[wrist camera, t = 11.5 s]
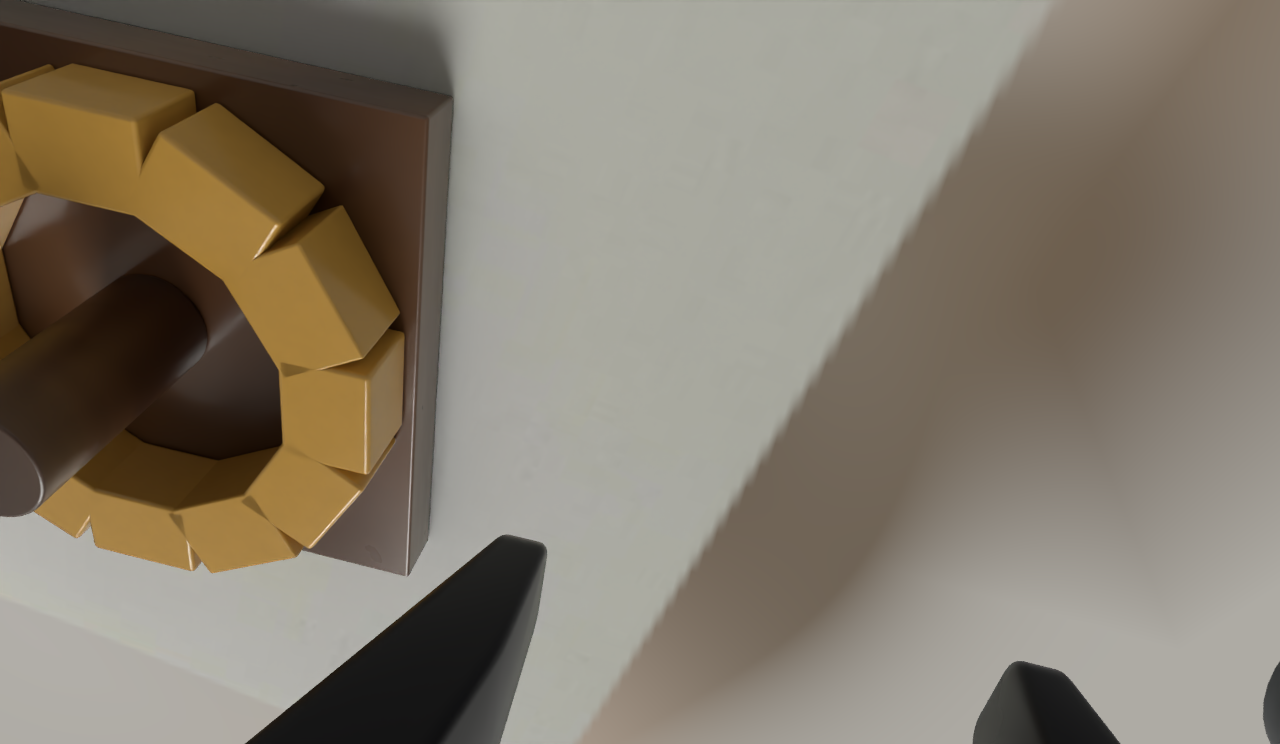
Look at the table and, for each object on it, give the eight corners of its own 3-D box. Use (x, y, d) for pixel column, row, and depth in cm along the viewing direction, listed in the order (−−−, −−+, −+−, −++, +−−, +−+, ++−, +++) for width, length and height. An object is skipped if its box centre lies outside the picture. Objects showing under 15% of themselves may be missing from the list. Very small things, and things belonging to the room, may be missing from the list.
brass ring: (412, 137, 15) (371, 173, 13) (398, 560, 20) (367, 617, 18) (-136, 15, 15) (-230, 37, 14) (-15, 458, 20) (-75, 506, 19)
